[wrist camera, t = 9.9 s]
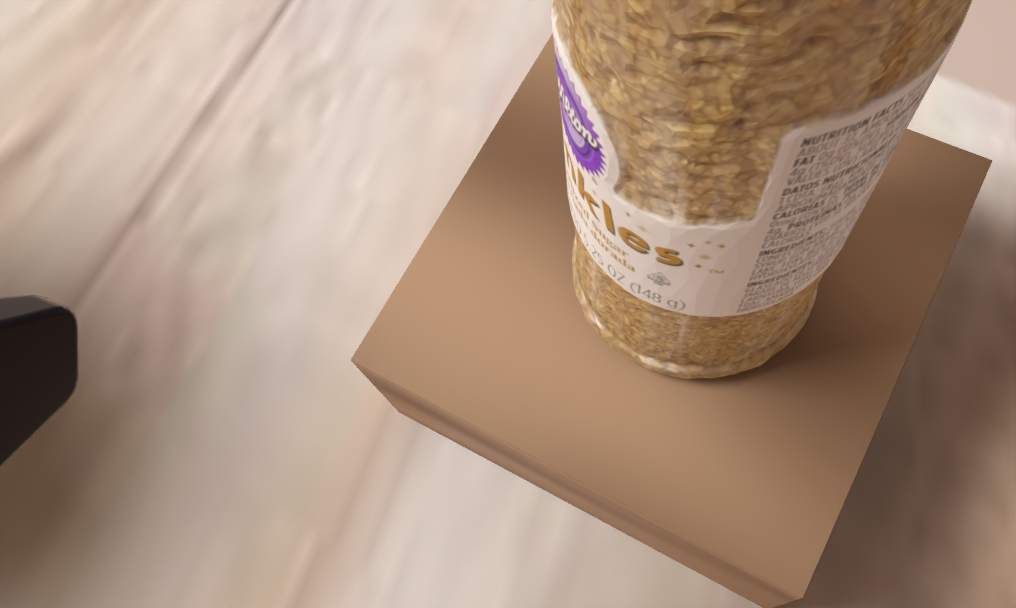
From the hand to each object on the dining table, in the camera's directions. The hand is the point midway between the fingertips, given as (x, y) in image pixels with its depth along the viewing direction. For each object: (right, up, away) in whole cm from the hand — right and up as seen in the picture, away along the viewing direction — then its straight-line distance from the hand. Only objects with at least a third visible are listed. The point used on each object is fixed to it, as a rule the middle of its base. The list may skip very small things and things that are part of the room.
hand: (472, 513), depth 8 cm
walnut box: (+4, +1, +13) cm, 13 cm away
